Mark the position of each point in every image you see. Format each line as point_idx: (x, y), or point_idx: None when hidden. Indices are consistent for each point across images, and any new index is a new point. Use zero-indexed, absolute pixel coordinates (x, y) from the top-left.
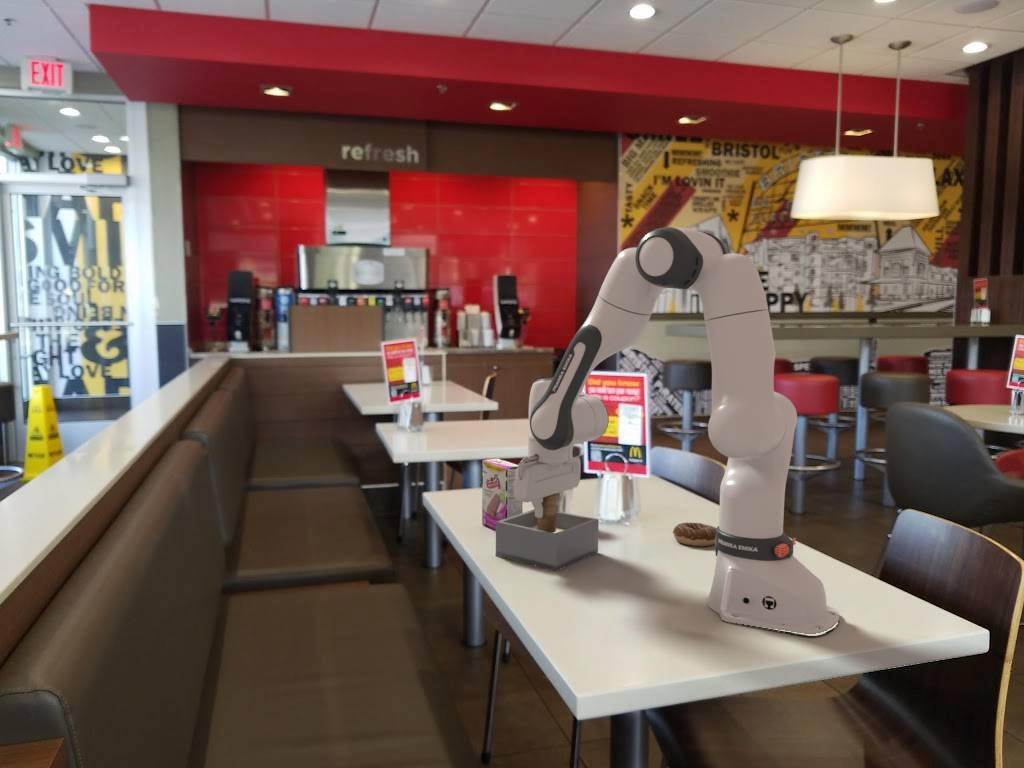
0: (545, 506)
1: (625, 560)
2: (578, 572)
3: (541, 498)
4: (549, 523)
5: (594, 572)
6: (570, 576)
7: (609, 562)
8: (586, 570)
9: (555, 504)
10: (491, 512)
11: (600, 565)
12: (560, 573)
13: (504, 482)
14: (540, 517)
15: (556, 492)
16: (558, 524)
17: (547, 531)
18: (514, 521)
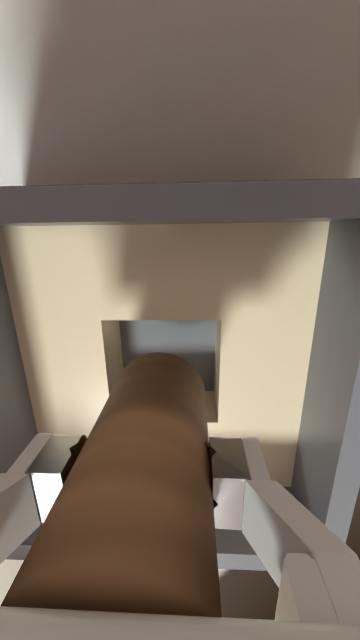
0: (207, 498)
1: (9, 41)
2: (278, 119)
3: (333, 618)
4: (186, 387)
5: (238, 57)
6: (342, 114)
7: (83, 88)
8: (236, 106)
9: (107, 467)
10: None
11: (142, 97)
12: (330, 174)
13: None
14: (257, 439)
15: (22, 626)
16: (22, 415)
17: (194, 370)
18: (219, 533)
